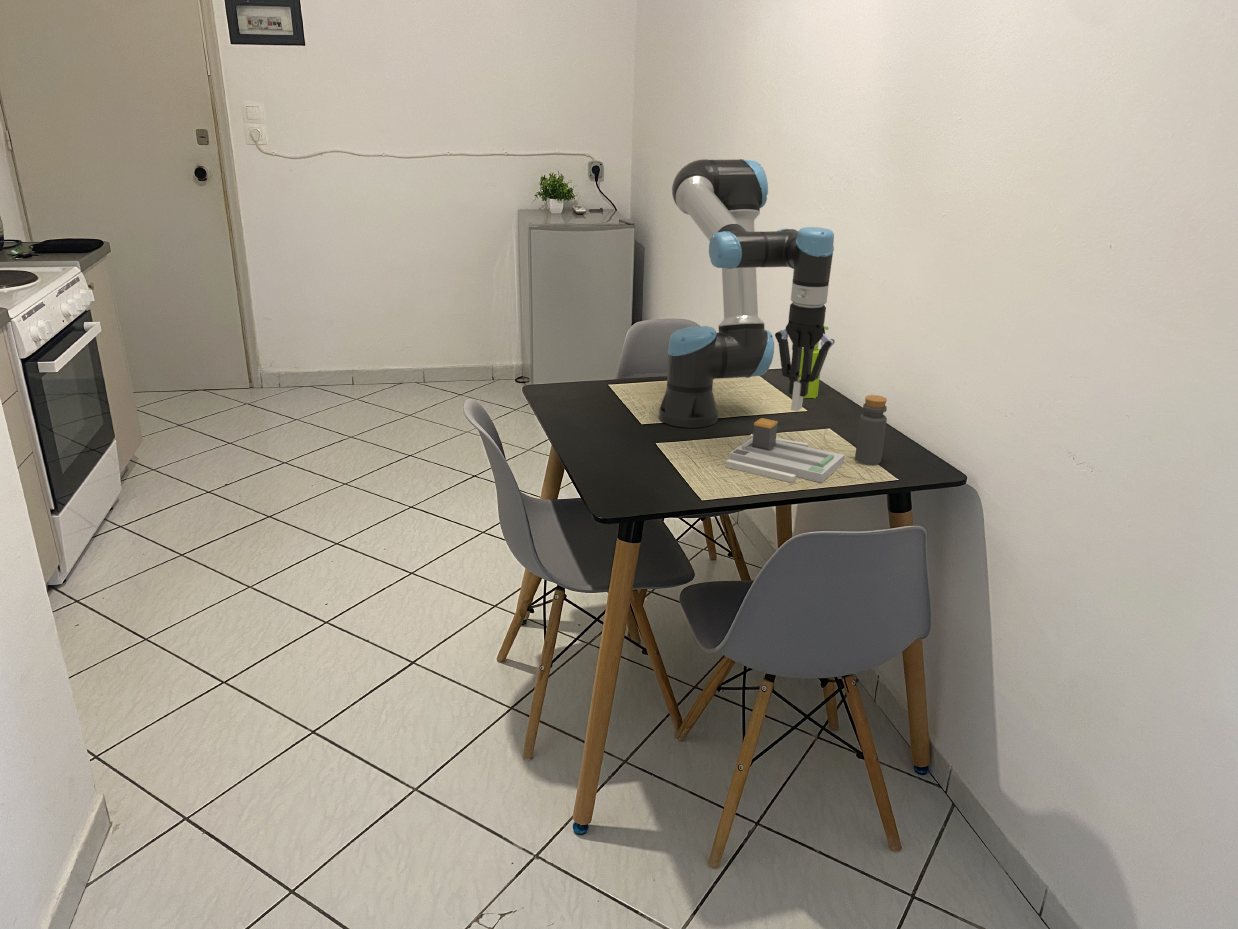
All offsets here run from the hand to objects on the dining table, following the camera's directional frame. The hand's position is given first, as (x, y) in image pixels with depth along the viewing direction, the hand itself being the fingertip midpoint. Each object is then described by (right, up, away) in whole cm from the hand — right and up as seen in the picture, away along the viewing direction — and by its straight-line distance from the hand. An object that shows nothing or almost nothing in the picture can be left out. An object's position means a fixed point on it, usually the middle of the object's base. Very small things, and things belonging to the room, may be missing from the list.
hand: (796, 408), depth 196 cm
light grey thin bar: (-1, -8, +15) cm, 17 cm away
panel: (-1, -12, +5) cm, 13 cm away
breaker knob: (-6, -8, +7) cm, 12 cm away
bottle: (+18, -12, +7) cm, 22 cm away
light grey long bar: (-8, -14, -2) cm, 17 cm away
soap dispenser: (+14, +7, +53) cm, 56 cm away
